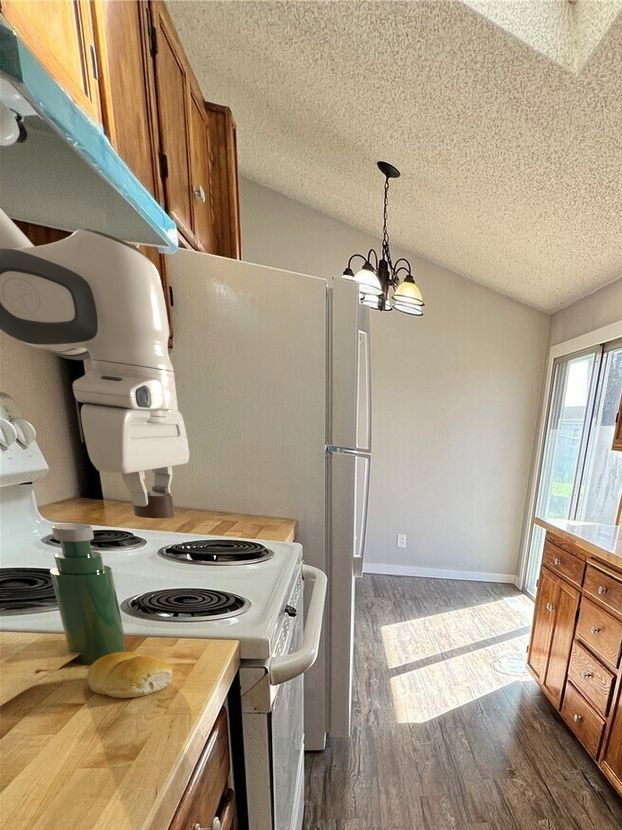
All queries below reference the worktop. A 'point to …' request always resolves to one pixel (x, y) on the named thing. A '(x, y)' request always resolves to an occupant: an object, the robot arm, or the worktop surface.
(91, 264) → the robot arm
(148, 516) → the brown cylinder puck
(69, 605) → the green bottle
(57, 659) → the worktop surface
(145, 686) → the bread roll
